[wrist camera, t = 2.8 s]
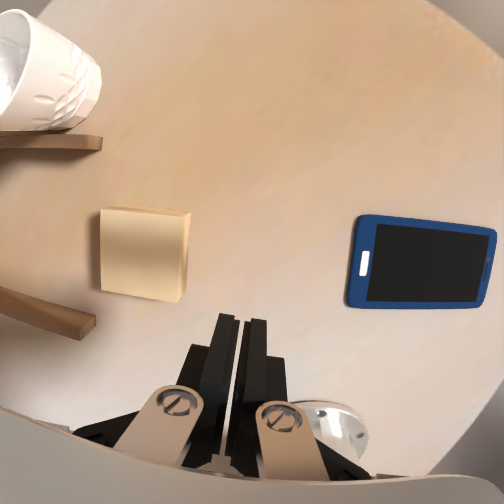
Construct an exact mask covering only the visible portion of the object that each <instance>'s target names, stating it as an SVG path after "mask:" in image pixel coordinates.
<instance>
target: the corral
mask: <svg viewBox="0 0 504 504" xmlns="http://www.w3.org/2000/svg"><path fill="white" fill-rule="evenodd" d="M102 140H103V137H97V136H90V135H76V134H51V135H15V136H0V148H64V149H91V150H101V148H102ZM0 313H2V314H5V315H7V316H10V317H12V318H15V319H17V320H20V321H23V322H25V323H28V324H31V325H34V326H36V327H39V328H42V329H45V330H48V331H51V332H54V333H57V334H60V335H63V336H66V337H69V338H72V339H75V340H79V341H81V340H82V339H83V338H84V337H85V336H86V335H87V334H88V333H89V332H90V331H91V330H92V329H93V328H94V327H95V326H96V319H95V315H92V314H88V313H84V312H80V311H77V310H73V309H70V308H66V307H63V306H59V305H56V304H52V303H49V302H46V301H42V300H39V299H36V298H33V297H30V296H26V295H23V294H20V293H17V292H14V291H11V290H8V289H5V288H2V287H0Z"/></svg>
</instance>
